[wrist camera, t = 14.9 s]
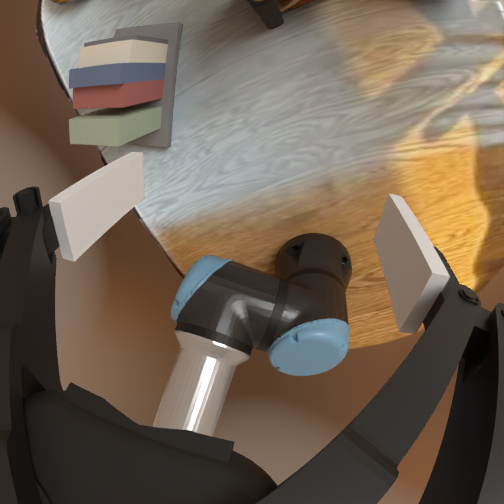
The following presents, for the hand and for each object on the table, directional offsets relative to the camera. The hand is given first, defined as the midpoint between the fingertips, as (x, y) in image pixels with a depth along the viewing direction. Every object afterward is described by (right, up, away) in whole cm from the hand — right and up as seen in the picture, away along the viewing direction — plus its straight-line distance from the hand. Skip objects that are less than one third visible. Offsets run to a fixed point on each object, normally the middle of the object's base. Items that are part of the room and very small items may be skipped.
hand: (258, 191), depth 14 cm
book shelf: (-20, +27, +28) cm, 44 cm away
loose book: (-21, +21, +30) cm, 43 cm away
